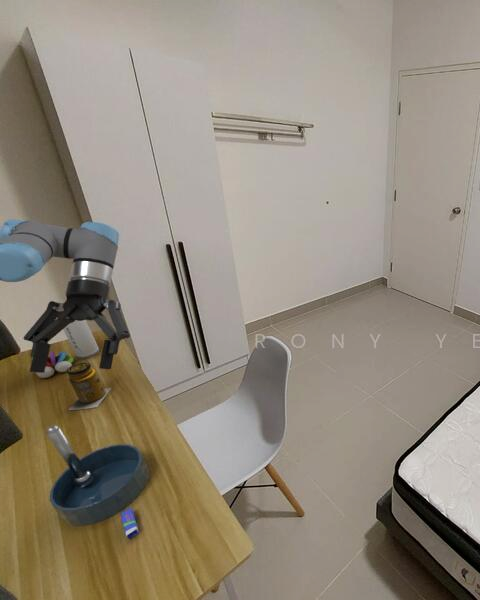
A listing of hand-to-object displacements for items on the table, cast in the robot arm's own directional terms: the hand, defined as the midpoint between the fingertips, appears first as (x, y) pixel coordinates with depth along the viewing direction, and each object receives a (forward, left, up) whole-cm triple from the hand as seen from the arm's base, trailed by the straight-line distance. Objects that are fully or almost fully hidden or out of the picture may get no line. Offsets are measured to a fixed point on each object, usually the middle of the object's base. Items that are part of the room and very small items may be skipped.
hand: (71, 370), depth 74 cm
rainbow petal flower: (-37, +34, -27) cm, 58 cm away
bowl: (+6, -12, -27) cm, 30 cm away
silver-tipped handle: (+1, -10, -26) cm, 28 cm away
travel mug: (-33, +43, -27) cm, 61 cm away
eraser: (+16, -21, -27) cm, 37 cm away
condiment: (-17, +19, -27) cm, 38 cm away
